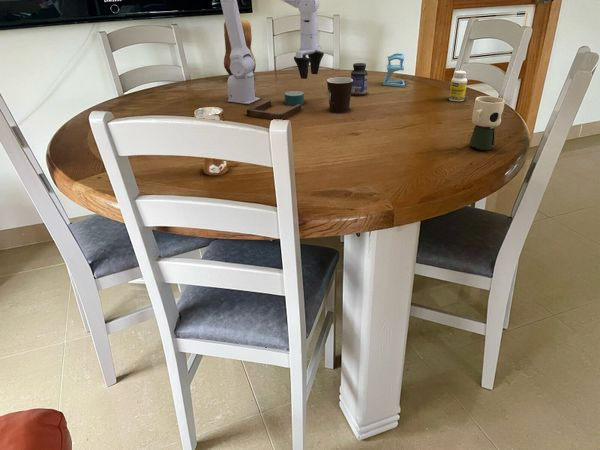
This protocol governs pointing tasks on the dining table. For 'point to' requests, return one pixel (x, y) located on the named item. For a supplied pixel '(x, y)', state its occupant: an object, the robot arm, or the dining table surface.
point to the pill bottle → (359, 79)
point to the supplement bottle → (458, 86)
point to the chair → (394, 68)
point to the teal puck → (294, 98)
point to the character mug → (486, 121)
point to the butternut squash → (227, 61)
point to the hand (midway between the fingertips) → (309, 76)
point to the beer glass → (212, 165)
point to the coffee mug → (339, 94)
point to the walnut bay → (258, 112)
